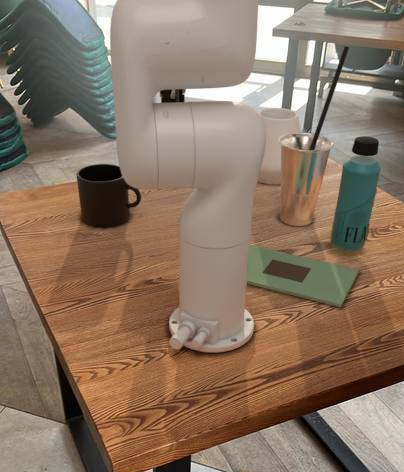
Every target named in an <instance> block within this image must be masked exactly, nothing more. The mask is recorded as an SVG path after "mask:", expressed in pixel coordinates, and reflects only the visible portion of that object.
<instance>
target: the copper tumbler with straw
mask: <svg viewBox="0 0 404 472" xmlns="http://www.w3.org/2000/svg"><path fill="white" fill-rule="evenodd" d="M349 50H350V47H349V46H345V45H344V46H343V49H342V51H341V55H340V58H339V60H338V64H337V67H336V70H335V73H334V76H333V78H332V81H331V85H330V86H329V87H330V88H329V90H328V93H327V96H326V99H325V102H324V105H323V107H322V111H321V114H320V117H319V119H318V123H317V125H316V128H315V132H314V133H311V132H300V133H291V134H286V135H283V136H281V137H280V138H279V143H280V144H281V183H280V184H279V186H280V209H279V210H280V215H279V219H280V221H281V222H282V223H284V224H286V225H289V226H292V227H293V226H294V227H303V226H308V225H310V224H311V223H312V222H313V218H314V214H315V212H316V211H315V210H316V206H317V203H318V198H319V194H320V191H321V187H322V183H323V180H324V176H325V173H326V168H327V165H328V160H329V157H330V152H331V149H333V148H334V146H335V143H334V141H333V139H332V138H329V137H328V136H325V135H322V134H321V131H322V128H323V126H324V122H325V120H326V118H327V117H326V116H327V114H328V111H329V108H330V105H331V102H332V100H333V96H334V94H335V91H336V88H337V85H338V81H339V79H340V77H341V73H342V70H343V68H344V65H345V62H346V59H347V56H348V53H349Z"/></svg>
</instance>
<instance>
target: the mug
mask: <svg viewBox="0 0 404 472" xmlns="http://www.w3.org/2000/svg"><path fill="white" fill-rule="evenodd" d="M76 181H77V182H76V183H77V190H78V198H79V206H80V214H81V219H82V222H84V223H85V224H87V225H89V226H92V227H97V228H111V227H116V226H119V225H123V224H124V223H126V222H128V220H129V219H130V216H131V215H130V213H131V211H130V209H132V208H136V207H137V206H138V205H139V204H140V203H141V200H142V194H141V191H140V189H137V188H134V187H131V186H130V185H128V184H127V183H126V181H125V180H124V178H123V176H122V174H121V170H120V166H119V165H117V164H112V163H97V164H90V165H86V166H84V167H82V168H80V169H79V170H77V172H76ZM129 190H130V191H132V192H133V193H134V194H135V196H136V200H135V201H133V202H130V197H129Z"/></svg>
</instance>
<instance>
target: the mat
mask: <svg viewBox="0 0 404 472" xmlns="http://www.w3.org/2000/svg"><path fill="white" fill-rule="evenodd" d="M359 272H360V269H357V268H353V267H348V266H345V265H340V264H335V263H331V262H327V261H322V260H318V259H314V258H308V257H306V256H302V255H297V254H292V253H288V252H284V251H279V250H275V249H271V248H267V247H262V246H258V245H255V244H250V248H249V261H248V274H247V285H251V286H254V287H259V288H263V289H266V290H270V291H275V292H278V293H282V294H286V295H289V296H290V295H291V296H293V297H298V298H301V299H306V300H310V301H314V302H317V303H322V304H326V305H329V306H333V307H337V308H342V306H343V303H344V302H345V300H346V299H347V296H348V295H349V292H350V290H351V288H352V286H353V285H354V282H355V280H356V278H357V277H358V274H359Z"/></svg>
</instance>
